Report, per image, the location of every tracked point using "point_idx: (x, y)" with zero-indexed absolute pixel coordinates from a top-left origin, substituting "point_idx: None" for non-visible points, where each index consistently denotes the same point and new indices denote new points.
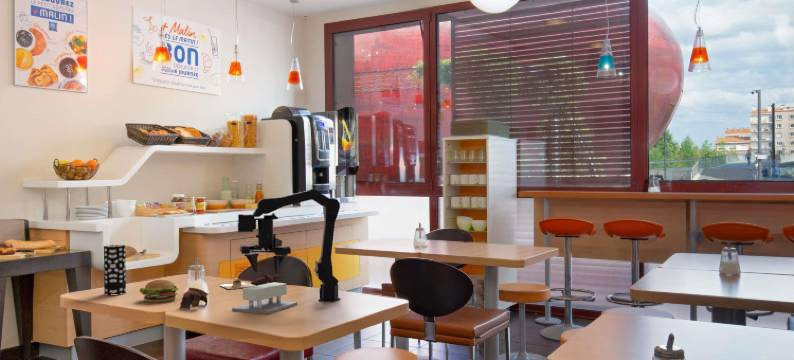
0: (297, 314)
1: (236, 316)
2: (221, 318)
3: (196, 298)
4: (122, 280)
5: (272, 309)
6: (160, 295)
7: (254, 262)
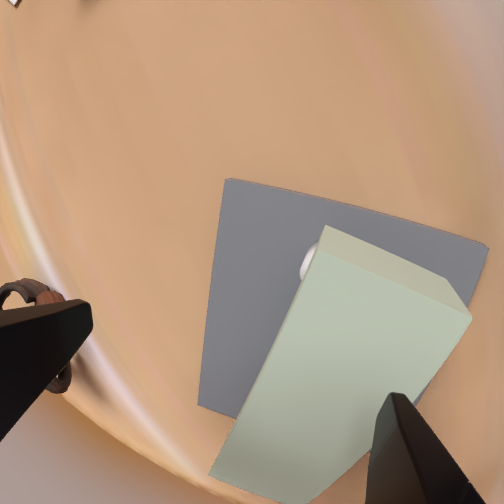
0: (488, 428)
1: None
2: None
3: (64, 391)
4: None
5: None
6: None
7: (5, 392)
